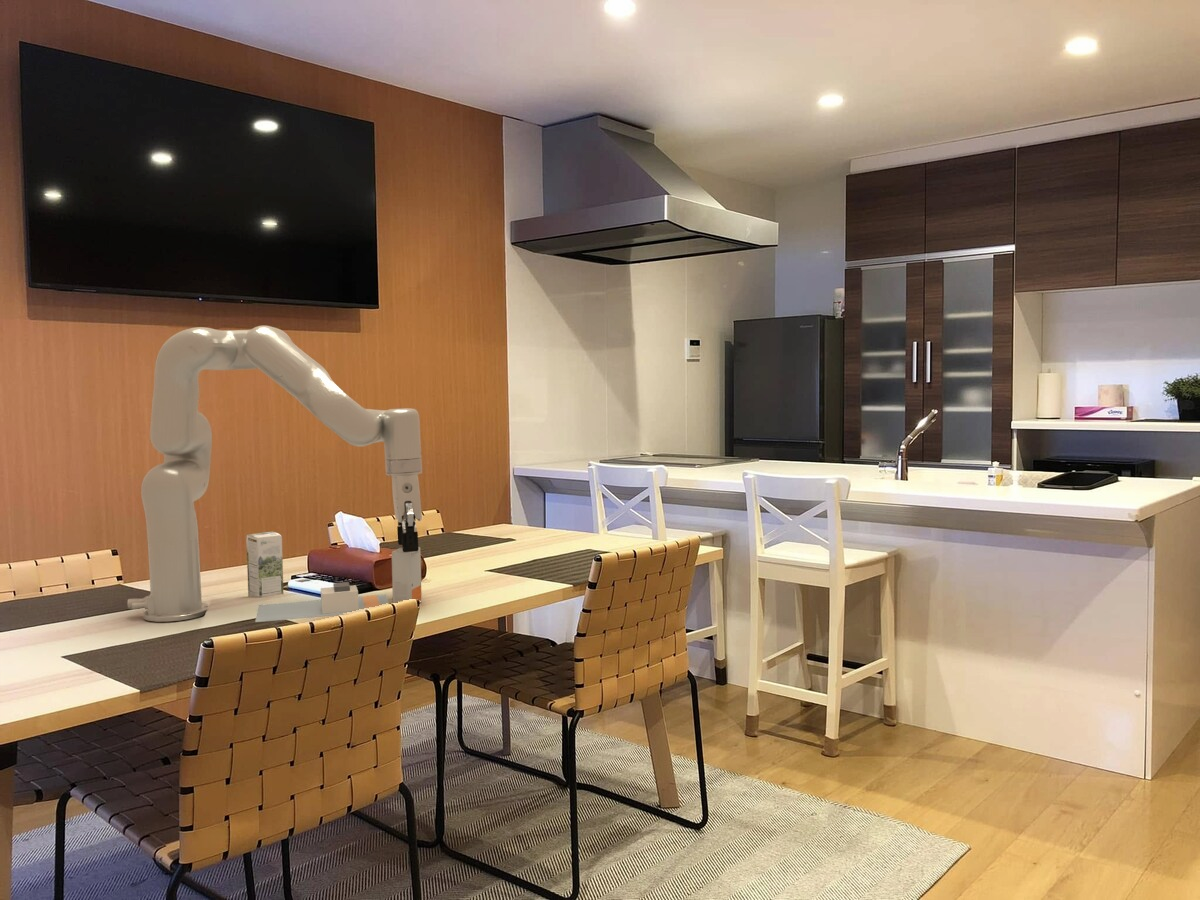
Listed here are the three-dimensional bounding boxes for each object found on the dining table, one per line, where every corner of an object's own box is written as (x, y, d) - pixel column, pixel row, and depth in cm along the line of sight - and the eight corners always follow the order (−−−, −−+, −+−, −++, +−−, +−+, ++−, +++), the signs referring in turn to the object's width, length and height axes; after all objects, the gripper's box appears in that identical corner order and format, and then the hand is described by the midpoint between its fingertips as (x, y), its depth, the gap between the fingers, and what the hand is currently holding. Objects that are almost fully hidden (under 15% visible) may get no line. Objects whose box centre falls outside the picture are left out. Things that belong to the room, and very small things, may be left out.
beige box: (322, 614, 184) (321, 589, 184) (321, 607, 190) (320, 583, 190) (358, 610, 187) (357, 586, 186) (356, 604, 192) (355, 580, 192)
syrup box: (272, 594, 209) (270, 530, 208) (284, 598, 204) (282, 533, 203) (248, 598, 205) (245, 533, 204) (259, 602, 200) (256, 536, 199)
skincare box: (411, 608, 193) (409, 551, 192) (392, 607, 194) (390, 551, 193) (422, 601, 199) (421, 546, 198) (404, 601, 199) (402, 546, 199)
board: (255, 628, 179) (255, 622, 179) (259, 610, 193) (258, 604, 193) (392, 615, 187) (392, 609, 187) (386, 599, 201) (385, 594, 201)
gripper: (426, 469, 187) (431, 552, 188) (417, 463, 203) (421, 540, 205) (389, 471, 185) (393, 556, 186) (382, 465, 201) (386, 543, 202)
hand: (408, 547), depth 195 cm, fingers open, 9 cm apart
